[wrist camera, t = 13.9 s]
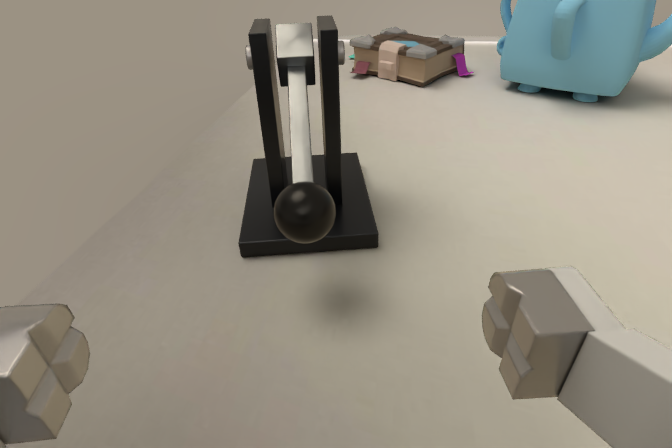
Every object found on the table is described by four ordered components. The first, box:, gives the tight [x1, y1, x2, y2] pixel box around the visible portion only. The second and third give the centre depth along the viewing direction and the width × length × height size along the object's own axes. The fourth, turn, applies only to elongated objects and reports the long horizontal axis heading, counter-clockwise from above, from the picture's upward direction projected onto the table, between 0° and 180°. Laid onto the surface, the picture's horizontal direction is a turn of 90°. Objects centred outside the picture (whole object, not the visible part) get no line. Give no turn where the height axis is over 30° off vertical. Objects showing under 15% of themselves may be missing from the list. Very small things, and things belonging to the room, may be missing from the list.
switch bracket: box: [239, 16, 378, 257], centre depth 30 cm, size 12×9×13 cm
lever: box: [274, 23, 336, 243], centre depth 25 cm, size 14×3×3 cm, turn 5°
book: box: [349, 27, 473, 87], centre depth 60 cm, size 20×12×5 cm, turn 48°
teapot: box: [497, 0, 672, 102], centre depth 50 cm, size 18×16×14 cm
